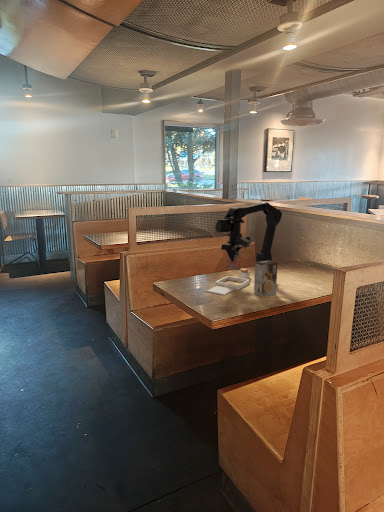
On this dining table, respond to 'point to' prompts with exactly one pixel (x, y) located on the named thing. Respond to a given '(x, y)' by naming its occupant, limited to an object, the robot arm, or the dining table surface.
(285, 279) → the dining table surface
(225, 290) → the mat
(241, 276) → the holder
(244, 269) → the plunger
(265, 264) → the coffee box
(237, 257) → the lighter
